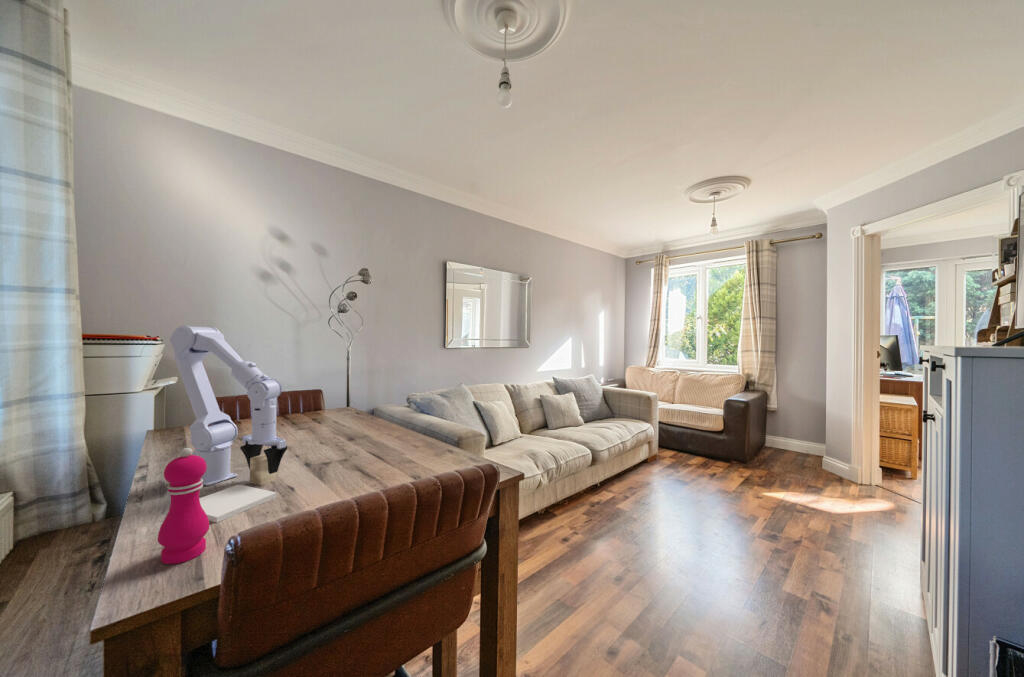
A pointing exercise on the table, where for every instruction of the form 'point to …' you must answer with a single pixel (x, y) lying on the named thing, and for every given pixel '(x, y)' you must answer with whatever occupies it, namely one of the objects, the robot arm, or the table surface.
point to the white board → (233, 501)
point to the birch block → (260, 470)
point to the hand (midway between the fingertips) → (263, 470)
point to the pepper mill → (184, 510)
